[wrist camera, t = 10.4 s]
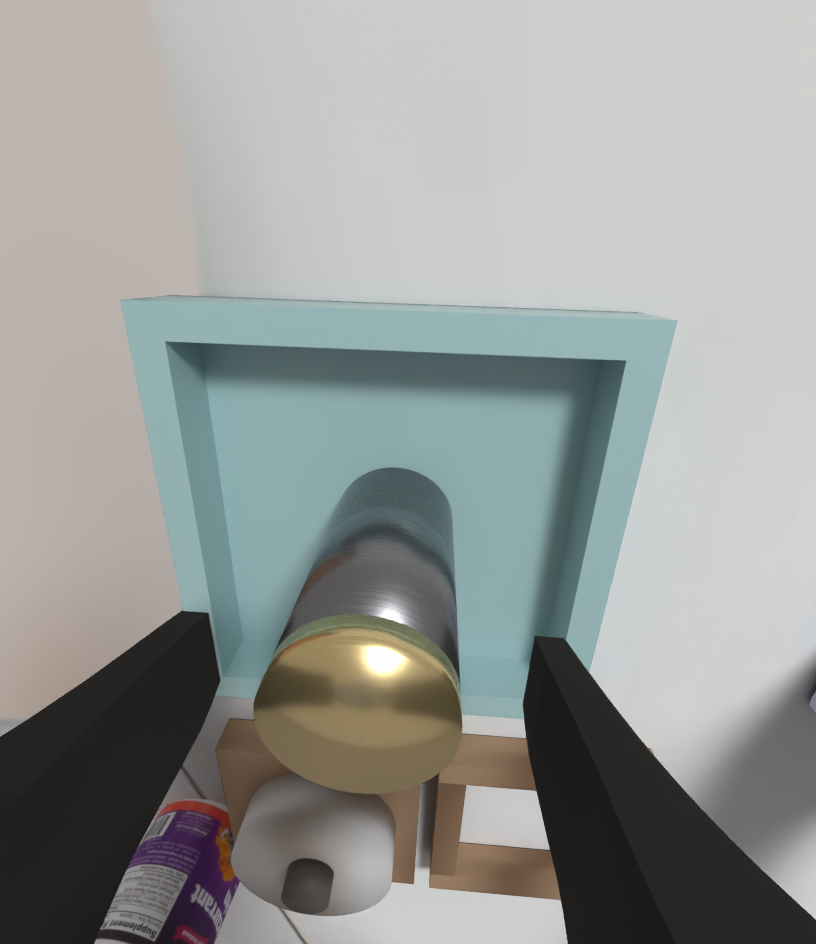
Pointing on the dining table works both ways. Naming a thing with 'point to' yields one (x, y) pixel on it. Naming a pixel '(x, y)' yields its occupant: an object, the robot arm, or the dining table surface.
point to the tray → (398, 458)
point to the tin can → (371, 645)
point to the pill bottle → (176, 879)
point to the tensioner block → (367, 830)
